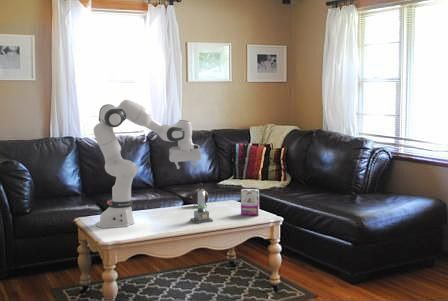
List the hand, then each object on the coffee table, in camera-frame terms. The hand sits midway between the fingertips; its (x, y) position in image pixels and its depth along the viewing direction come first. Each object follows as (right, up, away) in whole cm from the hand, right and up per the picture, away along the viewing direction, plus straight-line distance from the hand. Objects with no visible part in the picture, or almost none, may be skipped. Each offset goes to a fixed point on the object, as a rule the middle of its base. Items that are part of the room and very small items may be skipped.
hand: (185, 168), depth 343 cm
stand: (+10, -32, -6) cm, 34 cm away
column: (+10, -26, -7) cm, 29 cm away
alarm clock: (+8, -28, +34) cm, 45 cm away
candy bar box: (+41, -30, +9) cm, 51 cm away
